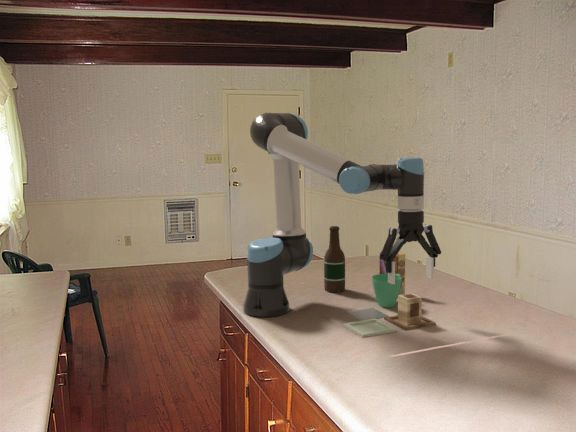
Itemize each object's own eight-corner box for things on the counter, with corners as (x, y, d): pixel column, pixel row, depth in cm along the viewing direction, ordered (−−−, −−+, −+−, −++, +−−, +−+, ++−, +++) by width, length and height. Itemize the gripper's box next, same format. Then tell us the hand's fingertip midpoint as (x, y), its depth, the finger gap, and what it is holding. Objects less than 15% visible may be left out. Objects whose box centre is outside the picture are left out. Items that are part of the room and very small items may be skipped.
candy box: (405, 295, 202) (406, 253, 200) (397, 297, 200) (398, 255, 198) (386, 290, 209) (386, 250, 207) (378, 292, 206) (378, 251, 204)
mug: (393, 312, 182) (393, 282, 181) (366, 307, 188) (366, 278, 187) (412, 301, 194) (412, 273, 193) (386, 297, 200) (386, 269, 199)
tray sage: (362, 338, 159) (362, 334, 159) (343, 327, 169) (343, 323, 169) (395, 333, 163) (395, 329, 163) (375, 322, 173) (375, 318, 173)
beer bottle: (346, 292, 207) (345, 228, 204) (324, 293, 207) (324, 228, 204) (344, 287, 215) (344, 224, 212) (323, 287, 215) (323, 225, 212)
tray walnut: (404, 331, 164) (404, 327, 164) (384, 320, 174) (384, 317, 174) (435, 326, 168) (435, 322, 168) (414, 316, 178) (414, 312, 178)
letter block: (407, 325, 168) (407, 299, 167) (397, 320, 173) (398, 294, 172) (421, 323, 170) (421, 297, 169) (411, 318, 174) (411, 293, 173)
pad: (361, 322, 173) (361, 320, 173) (346, 313, 182) (346, 311, 182) (389, 318, 177) (389, 316, 177) (373, 309, 186) (373, 307, 186)
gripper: (381, 214, 159) (381, 288, 161) (453, 208, 168) (452, 278, 171) (367, 211, 165) (368, 282, 168) (437, 206, 175) (437, 273, 177)
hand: (410, 280), depth 169 cm, fingers open, 13 cm apart
